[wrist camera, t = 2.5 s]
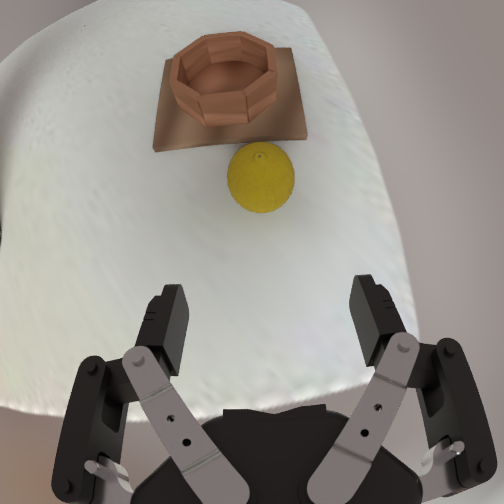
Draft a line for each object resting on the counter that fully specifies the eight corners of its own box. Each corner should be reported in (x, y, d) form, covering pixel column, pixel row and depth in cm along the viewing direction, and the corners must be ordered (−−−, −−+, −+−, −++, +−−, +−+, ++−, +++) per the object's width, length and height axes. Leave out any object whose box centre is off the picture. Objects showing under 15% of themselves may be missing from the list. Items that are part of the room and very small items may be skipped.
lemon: (264, 159, 29) (262, 112, 21) (302, 197, 28) (315, 160, 20) (221, 193, 28) (205, 154, 20) (259, 235, 27) (256, 208, 19)
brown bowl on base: (155, 152, 29) (136, 126, 24) (167, 64, 32) (156, 36, 26) (306, 139, 29) (313, 109, 23) (290, 52, 31) (292, 21, 26)
